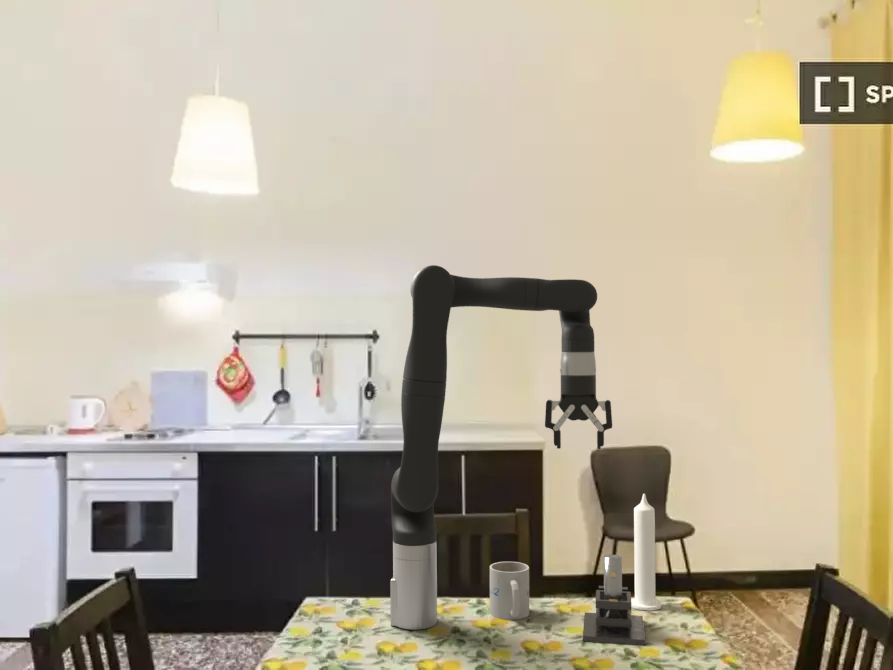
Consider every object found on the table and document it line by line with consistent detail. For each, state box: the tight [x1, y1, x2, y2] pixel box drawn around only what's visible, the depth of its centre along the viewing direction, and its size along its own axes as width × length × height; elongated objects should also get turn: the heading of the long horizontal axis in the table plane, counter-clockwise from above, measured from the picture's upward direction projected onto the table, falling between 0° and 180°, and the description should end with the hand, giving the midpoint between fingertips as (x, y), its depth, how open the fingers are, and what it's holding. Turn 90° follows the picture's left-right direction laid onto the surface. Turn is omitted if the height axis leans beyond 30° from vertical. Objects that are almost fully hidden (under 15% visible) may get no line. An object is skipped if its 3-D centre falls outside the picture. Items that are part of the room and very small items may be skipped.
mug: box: [489, 561, 530, 621], centre depth 172 cm, size 12×9×10 cm
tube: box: [603, 554, 623, 629], centre depth 162 cm, size 4×4×14 cm
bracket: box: [582, 585, 646, 646], centre depth 162 cm, size 12×14×7 cm
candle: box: [631, 493, 662, 612], centre depth 178 cm, size 7×7×25 cm
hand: (578, 448), depth 171 cm, fingers open, 8 cm apart
